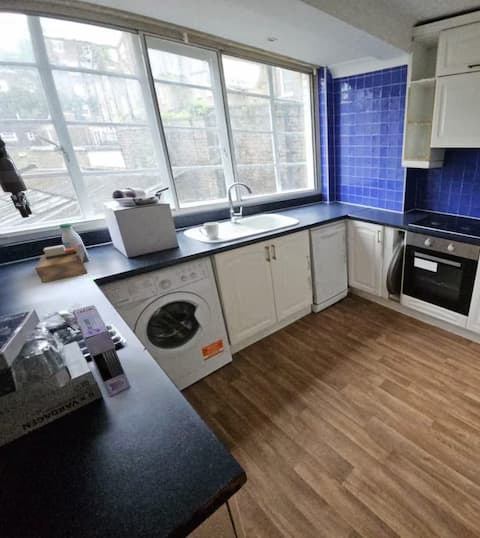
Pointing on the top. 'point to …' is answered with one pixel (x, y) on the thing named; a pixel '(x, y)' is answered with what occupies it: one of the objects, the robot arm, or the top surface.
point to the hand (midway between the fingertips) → (27, 216)
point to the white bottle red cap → (58, 251)
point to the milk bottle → (71, 237)
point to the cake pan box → (101, 349)
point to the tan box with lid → (62, 266)
